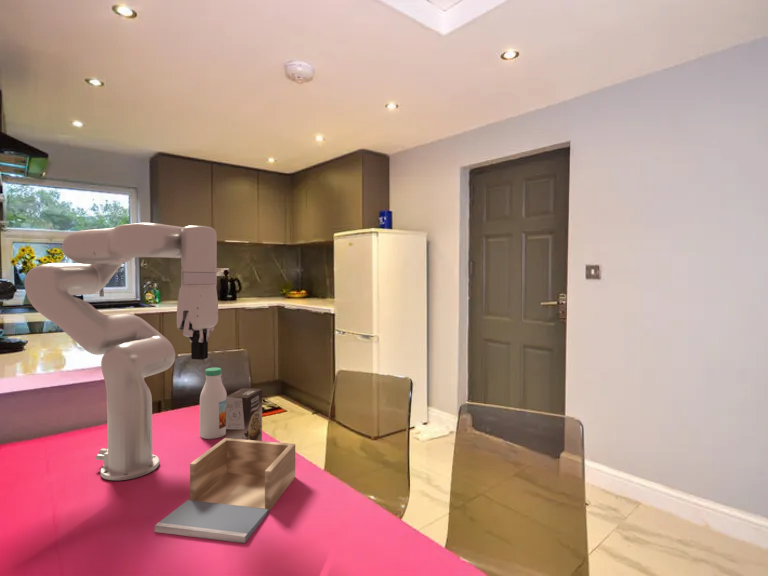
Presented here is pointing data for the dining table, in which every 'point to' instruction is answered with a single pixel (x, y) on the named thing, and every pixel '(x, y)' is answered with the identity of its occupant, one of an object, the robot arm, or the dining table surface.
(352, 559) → the dining table surface
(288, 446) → the crate
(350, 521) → the dining table surface
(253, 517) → the panel
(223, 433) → the milk bottle
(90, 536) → the dining table surface
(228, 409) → the coffee box
